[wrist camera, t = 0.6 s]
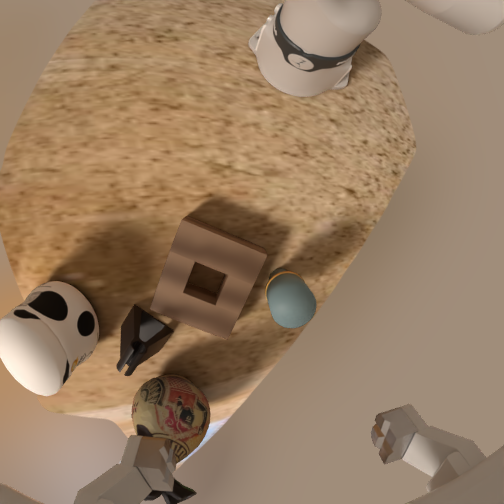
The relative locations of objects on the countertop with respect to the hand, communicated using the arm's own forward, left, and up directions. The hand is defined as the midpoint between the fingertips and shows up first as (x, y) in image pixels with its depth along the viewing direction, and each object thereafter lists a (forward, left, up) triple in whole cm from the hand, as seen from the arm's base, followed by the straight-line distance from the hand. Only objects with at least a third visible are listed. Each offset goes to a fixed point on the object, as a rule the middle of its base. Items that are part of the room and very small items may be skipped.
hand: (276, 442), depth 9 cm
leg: (+4, +9, -40) cm, 41 cm away
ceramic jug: (+35, -1, -41) cm, 54 cm away
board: (+8, -3, -40) cm, 41 cm away
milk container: (+29, -27, -41) cm, 56 cm away
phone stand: (+23, -10, -41) cm, 48 cm away
